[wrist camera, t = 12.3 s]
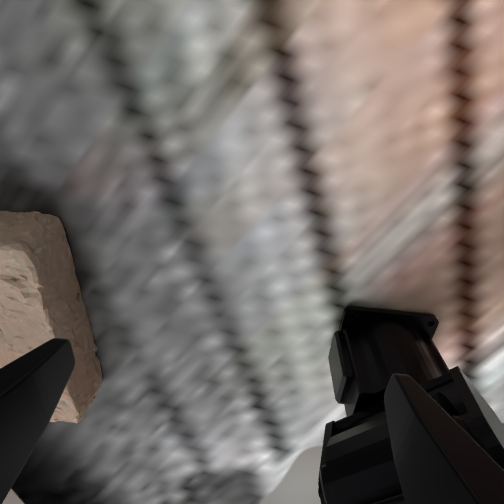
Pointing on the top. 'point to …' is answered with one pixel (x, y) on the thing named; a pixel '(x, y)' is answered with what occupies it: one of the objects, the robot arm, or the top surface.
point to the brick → (45, 304)
